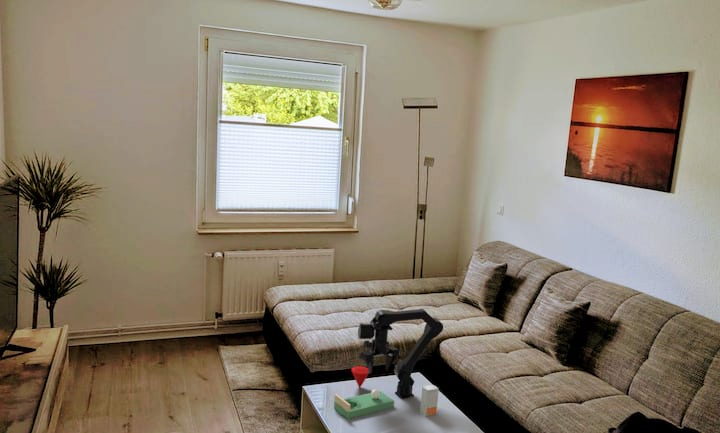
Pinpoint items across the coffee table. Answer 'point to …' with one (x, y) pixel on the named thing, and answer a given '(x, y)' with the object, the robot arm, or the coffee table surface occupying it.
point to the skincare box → (429, 400)
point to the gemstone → (360, 374)
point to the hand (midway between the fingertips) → (378, 371)
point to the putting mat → (362, 404)
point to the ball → (375, 394)
